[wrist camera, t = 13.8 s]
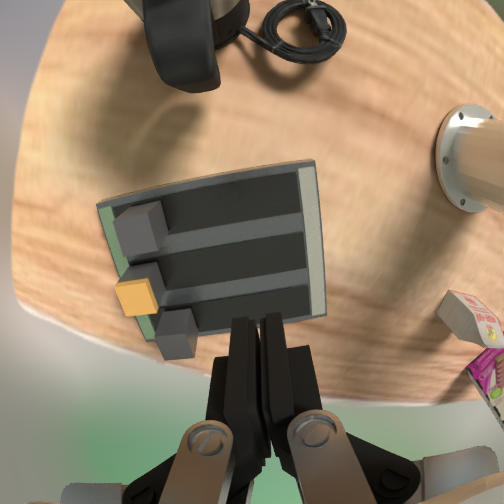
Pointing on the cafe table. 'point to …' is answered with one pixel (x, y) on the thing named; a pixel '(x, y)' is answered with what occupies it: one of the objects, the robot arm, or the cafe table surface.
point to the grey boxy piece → (471, 320)
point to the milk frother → (225, 36)
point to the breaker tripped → (140, 289)
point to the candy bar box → (490, 380)
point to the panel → (233, 246)
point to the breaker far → (177, 334)
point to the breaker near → (141, 229)
